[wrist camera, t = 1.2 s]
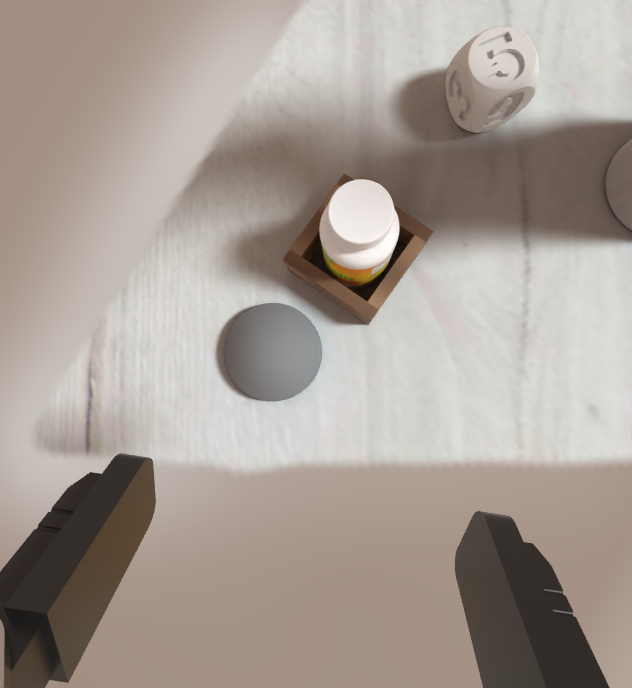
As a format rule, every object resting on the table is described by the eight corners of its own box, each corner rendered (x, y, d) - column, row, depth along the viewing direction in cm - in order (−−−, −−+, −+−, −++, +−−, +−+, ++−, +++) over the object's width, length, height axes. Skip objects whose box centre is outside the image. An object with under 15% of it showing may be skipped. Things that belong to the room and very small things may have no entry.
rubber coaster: (263, 286, 34) (261, 284, 33) (340, 340, 33) (340, 339, 32) (208, 363, 34) (204, 363, 33) (285, 419, 33) (283, 421, 32)
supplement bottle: (311, 259, 34) (296, 214, 24) (354, 212, 34) (358, 149, 24) (357, 302, 33) (363, 273, 23) (402, 254, 33) (425, 207, 23)
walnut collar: (344, 190, 34) (344, 173, 31) (425, 244, 33) (433, 231, 30) (288, 269, 34) (282, 259, 31) (368, 324, 33) (370, 320, 30)
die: (495, 67, 34) (521, 14, 29) (519, 118, 33) (549, 74, 28) (439, 90, 34) (455, 41, 29) (462, 142, 33) (482, 102, 28)
